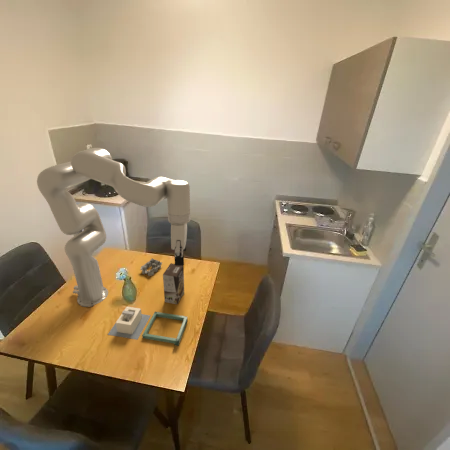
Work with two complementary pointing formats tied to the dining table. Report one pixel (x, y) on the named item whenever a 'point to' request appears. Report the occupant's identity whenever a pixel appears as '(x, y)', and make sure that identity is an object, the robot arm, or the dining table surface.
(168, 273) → the coffee box
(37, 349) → the dining table surface
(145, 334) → the tray
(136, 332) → the grey plate with peg
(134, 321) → the white hollow rectangular block
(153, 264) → the grey chain bracelet
